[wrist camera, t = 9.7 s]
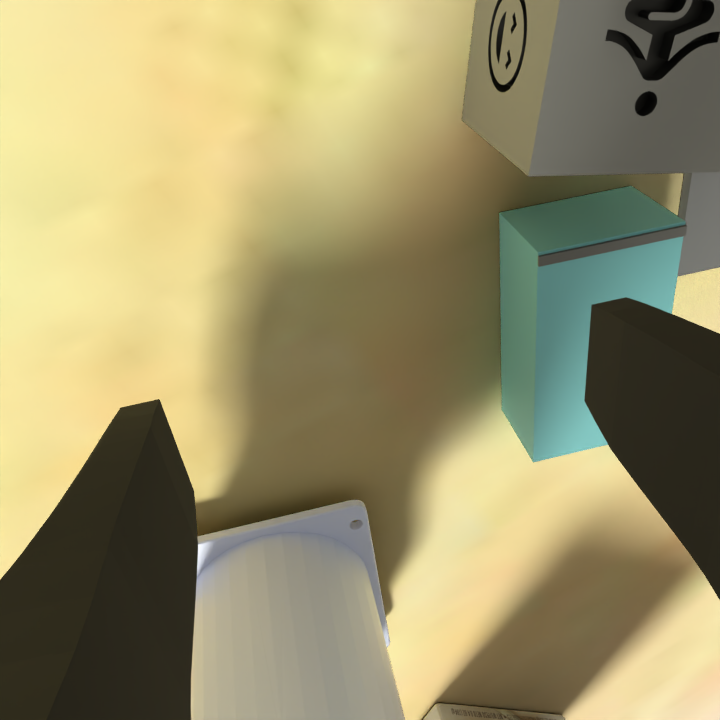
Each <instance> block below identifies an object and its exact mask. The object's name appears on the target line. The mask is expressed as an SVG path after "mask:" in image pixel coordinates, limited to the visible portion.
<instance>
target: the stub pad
mask: <svg viewBox="0 0 720 720" xmlns="http://www.w3.org/2000/svg"><path fill="white" fill-rule="evenodd" d="M678 217H680V218H681V219H683V220H684V221H686V226H687V231H686V236H683V243H682V249H681V256H680V262H679V269H678V275H677V276H682V275H686V274H691V273H695V272H700V271H705V270H709V269H714V268H718V267H720V172H707V173H684V178H683V185H682V192H681V199H680V206H679V212H678Z"/></svg>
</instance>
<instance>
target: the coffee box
mask: <svg viewBox="0 0 720 720" xmlns="http://www.w3.org/2000/svg"><path fill="white" fill-rule="evenodd" d="M423 720H565V718H564V717H563V716H562V715H557V714H547V713H537V712H527V711H516V710H506V709H496V708H486V707H476V706H466V705H455V704H442V703H437V704H435V705H434V706H433V708H432V709H431V710H430V711H429V713H428V714H427V715H426V716H425V718H424V719H423Z"/></svg>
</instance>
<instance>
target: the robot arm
mask: <svg viewBox="0 0 720 720" xmlns="http://www.w3.org/2000/svg"><path fill="white" fill-rule="evenodd" d="M584 401H585V403H586V405H587V407H588V409H589V411H590V413H591V414H592V416H593V418H594V420H595V422H596V424H597V426H598V428H599V429H600V431H601V433H602V435H603V436H604V438H605V440H606V442H607V443H608V445H609V447H610V448H611V450H612V451H613V453H614V454H615V455H616V457H617V458H618V460H619V461H620V462H621V464H622V465H623V466H624V468H625V469H626V470H627V472H628V473H629V474H630V476H631V477H632V478H633V480H634V481H635V482H636V484H637V485H638V486H639V488H640V489H641V490H642V491H643V493H644V494H645V495H646V497H647V498H648V499H649V501H650V502H651V503H652V505H653V506H654V507H655V509H656V510H657V511H658V512H659V514H660V515H661V516H662V518H663V519H664V520H665V522H666V523H667V524H668V526H669V527H670V528H671V529H672V531H673V532H674V533H675V535H676V536H677V537H678V539H679V540H680V541H681V543H682V544H683V545H684V546H685V548H686V549H687V550H688V552H689V553H690V555H691V556H692V558H693V559H694V560H695V562H696V563H697V565H698V566H699V568H700V569H701V570H702V572H703V573H704V575H705V576H706V578H707V580H708V581H709V583H710V585H711V586H712V588H713V589H714V591H715V593H716V594H717V596H718V598H719V599H720V334H719V333H716V332H714V331H712V330H709V329H707V328H704V327H702V326H699V325H697V324H695V323H692V322H690V321H687V320H685V319H683V318H680V317H678V316H675V315H673V314H670V313H668V312H665V311H663V310H661V309H658V308H656V307H653V306H650V305H648V304H645V303H642V302H639V301H637V300H633V299H630V298H627V297H625V298H620V299H615V300H611V301H606V302H602V303H597V304H593V305H591V319H590V332H589V345H588V359H587V372H586V385H585V399H584ZM354 520H358V521H356V522H352V521H354ZM389 644H390V639H389V633H388V628H387V622H386V616H385V611H384V605H383V599H382V594H381V588H380V582H379V577H378V571H377V565H376V560H375V554H374V548H373V543H372V537H371V531H370V526H369V520H368V515H367V510H366V506H365V504H364V503H363V502H362V501H360V500H349V501H345V502H341V503H336V504H332V505H328V506H324V507H320V508H315V509H311V510H307V511H303V512H298V513H294V514H290V515H286V516H282V517H277V518H273V519H269V520H265V521H260V522H256V523H252V524H248V525H244V526H239V527H235V528H231V529H227V530H223V531H218V532H214V533H210V534H206V535H201V536H197V521H196V509H195V497H194V490H193V487H192V485H191V482H190V479H189V477H188V474H187V471H186V469H185V466H184V463H183V461H182V458H181V455H180V453H179V450H178V447H177V445H176V442H175V439H174V437H173V434H172V431H171V429H170V426H169V423H168V421H167V418H166V416H165V413H164V410H163V408H162V405H161V402H160V400H159V399H158V400H154V401H149V402H145V403H140V404H135V405H131V406H126V407H122V408H120V410H119V411H118V413H117V414H116V416H115V417H114V419H113V420H112V422H111V423H110V425H109V426H108V428H107V429H106V431H105V432H104V434H103V436H102V437H101V439H100V440H99V442H98V444H97V445H96V447H95V448H94V450H93V452H92V453H91V455H90V456H89V458H88V460H87V461H86V463H85V464H84V466H83V467H82V469H81V470H80V472H79V474H78V475H77V477H76V478H75V480H74V481H73V483H72V484H71V485H70V487H69V488H68V490H67V491H66V493H65V494H64V496H63V497H62V499H61V500H60V502H59V503H58V505H57V506H56V508H55V509H54V511H53V512H52V514H51V515H50V516H49V518H48V519H47V520H46V522H45V523H44V524H43V526H42V527H41V528H40V530H39V531H38V532H37V534H36V535H35V536H34V538H33V539H32V541H31V542H30V543H29V545H28V546H27V547H26V549H25V550H24V551H23V553H22V554H21V555H20V556H19V558H18V559H17V560H16V561H15V563H14V564H13V565H12V566H11V568H10V569H9V570H8V571H7V572H6V574H5V575H4V576H3V577H2V578H1V580H0V720H405V717H404V713H403V710H402V706H401V702H400V698H399V694H398V690H397V686H396V682H395V678H394V674H393V670H392V666H391V662H390V658H389V654H388V650H387V647H388V646H389Z"/></svg>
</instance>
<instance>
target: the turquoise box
mask: <svg viewBox="0 0 720 720" xmlns="http://www.w3.org/2000/svg"><path fill="white" fill-rule="evenodd" d="M499 230H500V308H501V385H502V411H503V412H504V414H505V416H506V417H507V419H508V421H509V422H510V424H511V426H512V428H513V429H514V431H515V433H516V434H517V436H518V438H519V439H520V441H521V443H522V444H523V446H524V448H525V449H526V451H527V453H528V454H529V456H530V458H531V459H532V461H533V462H536V461H541V460H545V459H549V458H553V457H557V456H562V455H566V454H570V453H574V452H578V451H583V450H587V449H591V448H595V447H599V446H604V445H608V443H607V442H606V440H605V438H604V436H603V435H602V433H601V431H600V429H599V428H598V426H597V424H596V422H595V420H594V418H593V416H592V414H591V413H590V411H589V409H588V407H587V405H586V403H585V401H584V399H585V385H586V372H587V359H588V345H589V332H590V319H591V305H593V304H597V303H602V302H606V301H611V300H615V299H620V298H625V297H627V298H630V299H633V300H637V301H639V302H642V303H645V304H648V305H650V306H653V307H656V308H658V309H661V310H663V311H665V312H668V313H670V314H672V308H673V301H674V295H675V288H676V282H677V275H678V269H679V262H680V256H681V249H682V243H683V236H686V231H687V226H686V221H684V220H683V219H681V218H680V217H678V216H677V215H675V214H674V213H672V212H671V211H669V210H668V209H666V208H664V207H663V206H661V205H660V204H658V203H657V202H655V201H654V200H652V199H651V198H649V197H648V196H646V195H645V194H643V193H642V192H640V191H639V190H637V189H636V188H634V187H632V186H627V187H623V188H618V189H613V190H608V191H603V192H598V193H593V194H588V195H583V196H578V197H574V198H569V199H564V200H559V201H554V202H549V203H544V204H539V205H534V206H529V207H524V208H520V209H515V210H510V211H505V212H500V213H499Z"/></svg>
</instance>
